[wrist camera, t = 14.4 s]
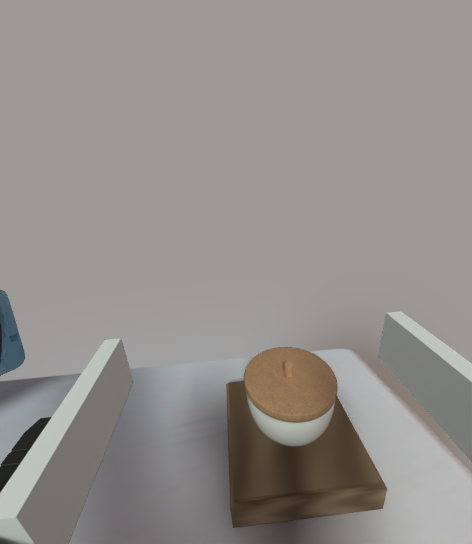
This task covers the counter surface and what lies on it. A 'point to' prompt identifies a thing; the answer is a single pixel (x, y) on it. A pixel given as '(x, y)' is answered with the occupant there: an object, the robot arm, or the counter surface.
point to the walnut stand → (296, 470)
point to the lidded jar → (290, 395)
